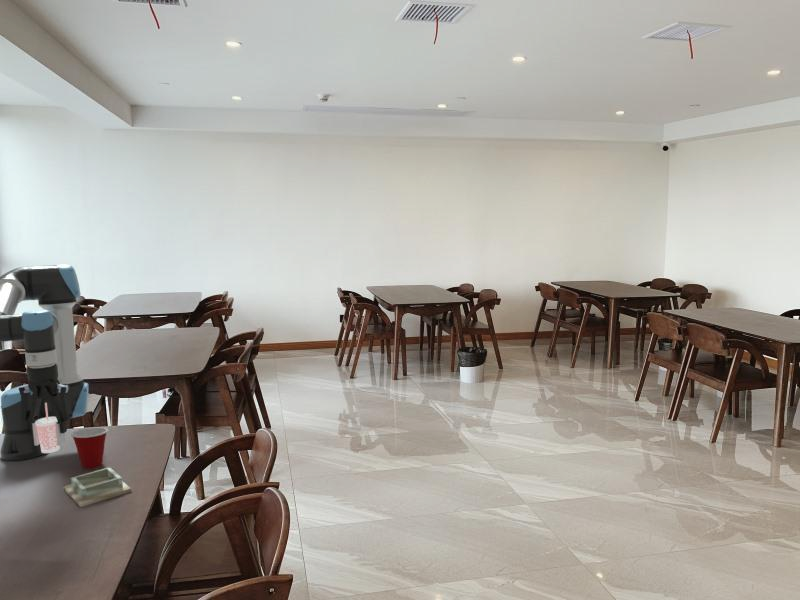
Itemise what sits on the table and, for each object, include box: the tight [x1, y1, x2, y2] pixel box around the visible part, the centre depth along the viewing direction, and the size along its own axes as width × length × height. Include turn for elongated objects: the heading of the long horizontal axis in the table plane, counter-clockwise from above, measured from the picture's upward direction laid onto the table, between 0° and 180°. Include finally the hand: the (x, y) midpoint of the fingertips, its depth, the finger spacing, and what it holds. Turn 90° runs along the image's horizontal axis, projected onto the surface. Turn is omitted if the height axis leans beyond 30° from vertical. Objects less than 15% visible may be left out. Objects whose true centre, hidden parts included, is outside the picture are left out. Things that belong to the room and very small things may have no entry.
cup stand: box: [63, 466, 132, 508], centre depth 183 cm, size 16×14×4 cm
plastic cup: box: [71, 426, 109, 470], centre depth 201 cm, size 11×11×12 cm
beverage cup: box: [35, 403, 61, 454], centre depth 175 cm, size 6×6×14 cm
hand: (50, 443), depth 176 cm, fingers closed on beverage cup, 6 cm apart
